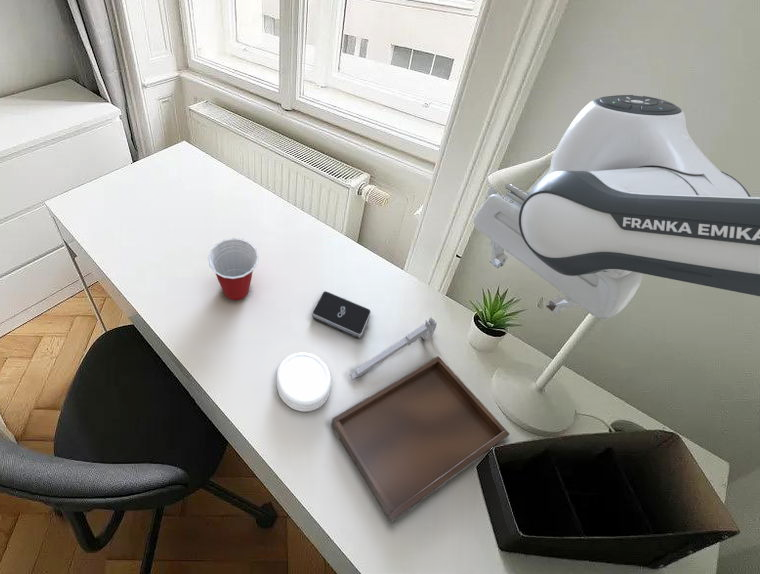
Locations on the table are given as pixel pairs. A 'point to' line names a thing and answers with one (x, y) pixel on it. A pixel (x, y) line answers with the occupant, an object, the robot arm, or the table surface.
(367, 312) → the external hard drive
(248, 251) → the plastic cup
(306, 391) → the white round container
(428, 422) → the tray
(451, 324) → the table surface
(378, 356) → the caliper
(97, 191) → the table surface
